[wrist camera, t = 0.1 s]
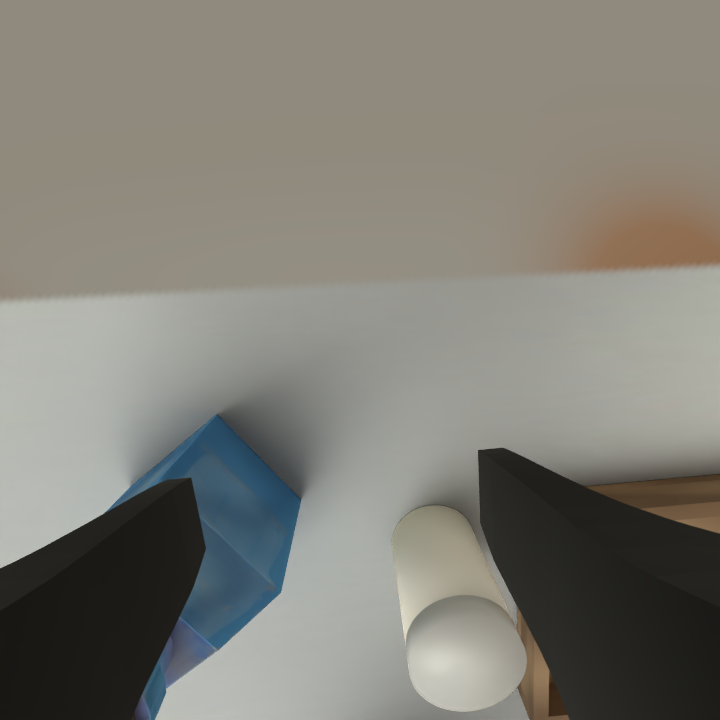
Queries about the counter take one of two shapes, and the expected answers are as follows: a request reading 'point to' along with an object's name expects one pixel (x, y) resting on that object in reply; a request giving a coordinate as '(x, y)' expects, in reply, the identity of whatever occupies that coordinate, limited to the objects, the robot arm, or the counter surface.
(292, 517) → the perfume bottle
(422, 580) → the cylinder
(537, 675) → the walnut tray
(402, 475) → the counter surface
